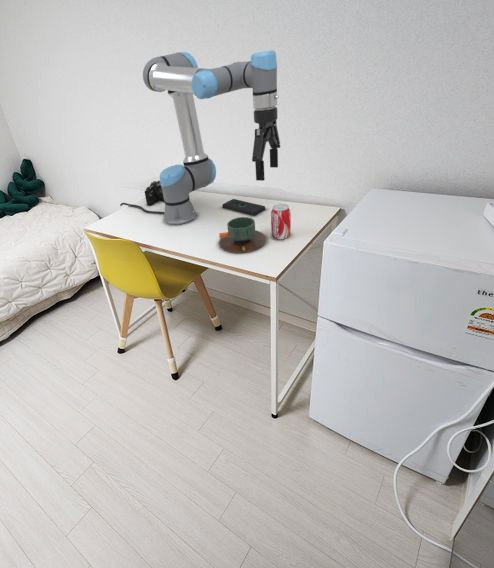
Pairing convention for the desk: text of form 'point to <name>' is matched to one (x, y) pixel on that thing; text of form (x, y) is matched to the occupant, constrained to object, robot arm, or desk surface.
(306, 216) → the desk surface
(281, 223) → the soda can
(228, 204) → the smart home device
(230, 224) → the cup holder
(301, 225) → the desk surface
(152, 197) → the film camera
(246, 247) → the holder base
